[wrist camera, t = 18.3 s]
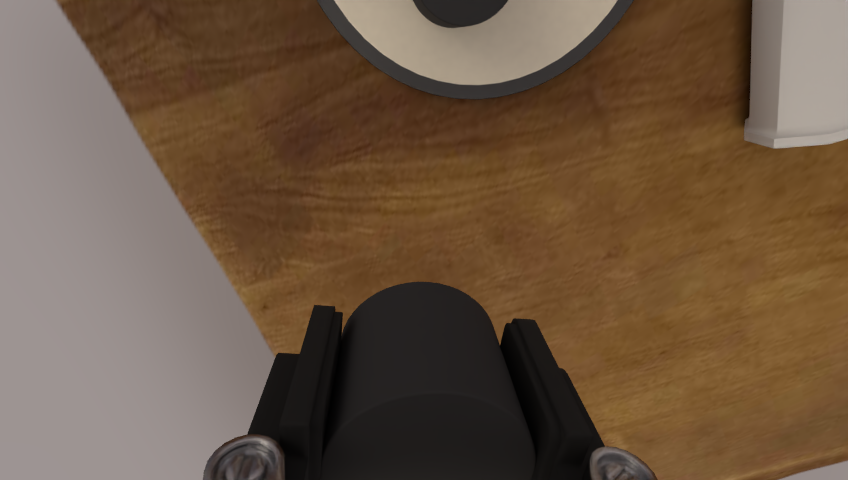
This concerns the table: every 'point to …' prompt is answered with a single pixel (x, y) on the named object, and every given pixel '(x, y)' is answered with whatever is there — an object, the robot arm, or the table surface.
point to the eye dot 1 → (459, 11)
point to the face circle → (475, 43)
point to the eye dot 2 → (424, 393)
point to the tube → (798, 73)
